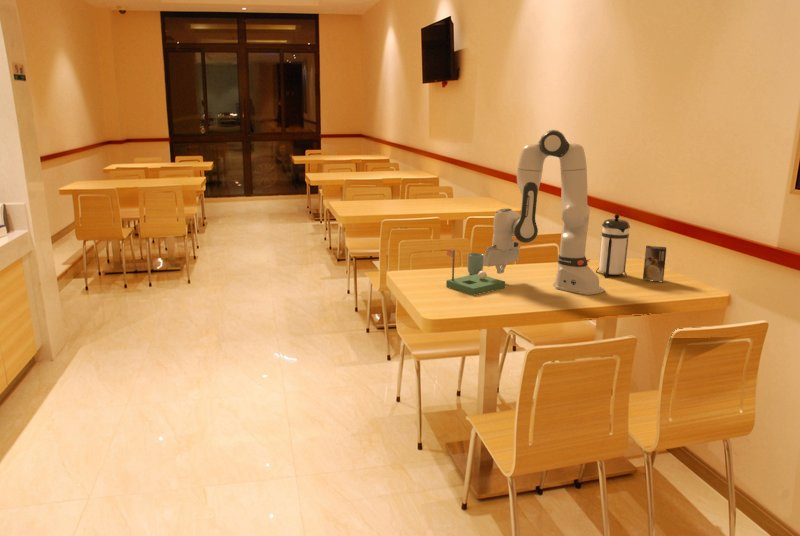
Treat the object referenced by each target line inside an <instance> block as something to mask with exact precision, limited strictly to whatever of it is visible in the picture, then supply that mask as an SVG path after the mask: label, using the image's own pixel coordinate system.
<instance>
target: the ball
mask: <svg viewBox="0 0 800 536" xmlns="http://www.w3.org/2000/svg"><path fill="white" fill-rule="evenodd" d="M486 277H487V272H486V271H485V270H483V271H480V272H479V273H478V278H479V279H481V280H484V279H485V278H486Z"/></svg>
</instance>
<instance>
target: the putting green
mask: <svg viewBox="0 0 800 536" xmlns="http://www.w3.org/2000/svg"><path fill="white" fill-rule="evenodd" d="M455 252H456V251H455V249H449V248H446V256H447V257H452V268H451V270H452V271H451V272H452V273H451V279H447V280H446V285H445V286H447V287H446V288H449V287H450V288H449V289H452V288H453V290H455V289H456V290H455V291H458V290H459V291H458V292H461V291H462V293H464V292H465V293H464V294H467V293H468V294H467V295H470V294H472V295H471V296H475V295H474V294H477V295H480V294H479V293H481V294H484V293H483V292H485V293H489V292H488V291H490V292H493V291H492V290H494V291H497V289H498V290H501V289H506V281H505V280H502V279H498V278H494V277H491V276H487V277H486V278H485V279H484V280H481V279H479V278H478V274H474V275H471V274H469V275H465V276H461V277H456V278H455V257H456V256H455V255H456V254H455Z"/></svg>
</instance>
